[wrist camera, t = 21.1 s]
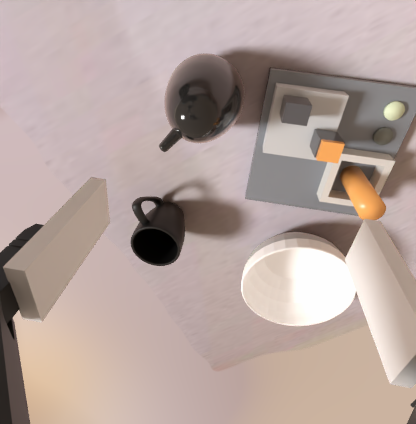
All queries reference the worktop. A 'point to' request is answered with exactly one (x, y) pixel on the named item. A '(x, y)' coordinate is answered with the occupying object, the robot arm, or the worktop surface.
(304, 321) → the bowl
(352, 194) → the pin
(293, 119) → the block
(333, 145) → the block
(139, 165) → the worktop surface
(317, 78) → the panel board
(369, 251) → the robot arm
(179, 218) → the mug
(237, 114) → the black domed piece
